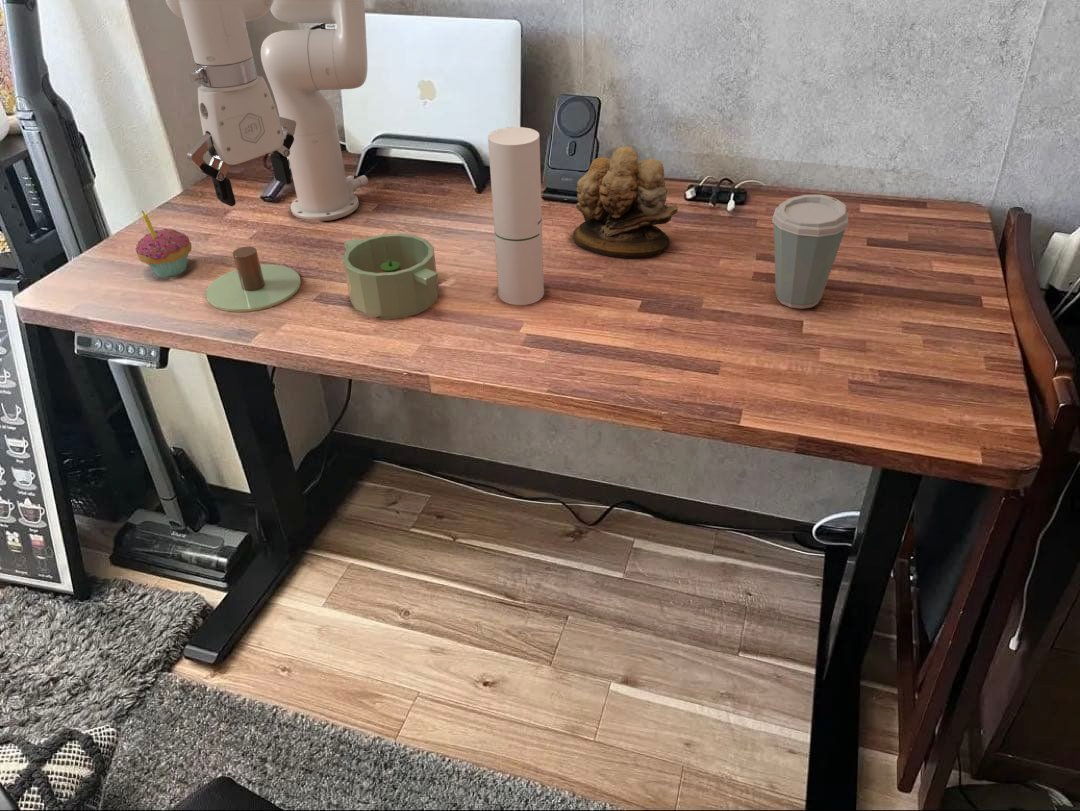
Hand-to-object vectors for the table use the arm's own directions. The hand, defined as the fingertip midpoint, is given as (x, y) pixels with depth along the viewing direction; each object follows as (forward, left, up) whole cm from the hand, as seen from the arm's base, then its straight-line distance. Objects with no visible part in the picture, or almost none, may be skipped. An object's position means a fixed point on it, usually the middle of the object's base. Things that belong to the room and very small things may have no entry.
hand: (256, 192), depth 125 cm
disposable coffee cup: (-49, +64, -17) cm, 82 cm away
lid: (+2, -4, -16) cm, 17 cm away
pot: (-11, +15, -17) cm, 25 cm away
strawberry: (-11, +15, -16) cm, 25 cm away
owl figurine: (-48, +32, -17) cm, 60 cm away
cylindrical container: (-24, +30, -17) cm, 42 cm away
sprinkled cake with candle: (+7, -21, -17) cm, 28 cm away
